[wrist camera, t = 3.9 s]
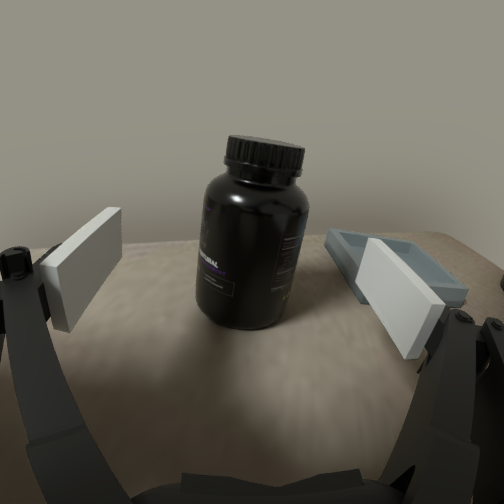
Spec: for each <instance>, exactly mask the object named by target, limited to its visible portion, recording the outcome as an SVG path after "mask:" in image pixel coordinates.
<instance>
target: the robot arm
mask: <svg viewBox="0 0 504 504" xmlns="http://www.w3.org/2000/svg"><path fill="white" fill-rule="evenodd" d="M121 258H122V238H121V208H115V207H107V208H106V209H105V210H103V211H102V212H101V213H99V214H98V215H97V216H96V217H94V218H93V219H92V220H91V221H89V222H88V223H87V224H86V225H84V226H83V227H82V228H81V229H80V230H78V231H77V232H76V233H75V234H73V235H72V236H71V237H70V238H69V239H67V240H66V241H65V242H64V243H60V244H58V245H56V246H54V247H52V248H51V249H50V250H48V251H47V252H46V254H44V255H43V256H42V257H41V258H39V259H38V260H37V261H36V262H35V263H34V264H33V265H32V261H31V255H30V250H29V249H28V248H26V247H20V246H19V247H12V248H9V249H7V250H4V251H3V252H1V253H0V272H1V276H2V281H0V361H1V355H2V349H3V343H4V338H5V334H6V339H7V347H8V354H9V360H10V366H11V371H12V377H13V381H14V386H15V391H16V395H17V399H18V403H19V407H20V411H21V415H22V418H23V422H24V425H25V429H26V432H27V435H28V438H29V444H26V451H27V454H28V458H29V461H30V463H31V466H32V469H33V471H34V474H35V476H36V479H37V481H38V484H39V486H40V488H41V491H42V493H43V495H44V497H45V500H46V502H47V504H470V502H471V498H472V494H473V504H504V324H503V323H502V322H501V321H500V320H498V319H495V318H491V317H488V318H486V320H485V322H484V324H483V326H478V325H475V322H474V320H473V318H472V317H471V316H470V315H468V314H467V313H466V312H464V311H461V310H458V309H452V310H450V309H449V308H448V306H447V305H446V304H445V303H444V302H443V301H442V300H441V299H440V298H439V297H438V296H437V295H436V294H435V293H434V292H433V290H432V289H431V288H430V287H429V286H428V285H427V284H426V283H425V282H424V281H423V280H422V279H421V278H420V277H419V276H418V275H417V274H416V273H415V272H414V271H413V270H412V269H411V268H410V267H409V266H408V265H407V264H406V263H405V262H404V261H403V260H402V259H401V258H400V257H399V256H397V255H396V254H395V253H394V252H393V251H392V250H391V249H390V248H389V247H388V246H387V245H386V244H385V243H384V242H383V241H382V240H380V239H376V238H369V237H368V241H367V244H366V248H365V251H364V255H363V258H362V261H361V264H360V268H359V271H358V274H357V277H356V280H355V282H356V284H357V285H358V287H359V288H360V290H361V291H362V293H363V294H364V296H365V297H366V299H367V300H368V302H369V303H370V305H371V306H372V308H373V310H374V311H375V313H376V314H377V316H378V317H379V319H380V320H381V322H382V324H383V325H384V327H385V328H386V330H387V332H388V333H389V335H390V336H391V338H392V340H393V341H394V343H395V345H396V346H397V348H398V350H399V351H400V353H401V355H402V356H403V358H404V360H405V359H418V358H419V356H420V354H421V352H422V351H423V349H424V347H425V348H426V350H427V351H428V354H427V356H426V358H425V360H424V361H423V363H422V365H421V366H420V368H419V370H418V371H417V373H418V374H419V373H420V371H421V373H420V377H419V380H418V384H417V387H416V390H415V393H414V396H413V399H412V402H411V405H410V408H409V411H408V414H407V416H406V419H405V422H404V424H403V427H402V430H401V432H400V435H399V437H398V440H397V442H396V444H395V447H394V449H393V451H392V454H391V456H390V458H389V460H388V463H387V465H386V467H385V469H384V471H383V473H382V475H381V477H380V479H379V480H378V482H377V481H373V480H367V479H362V477H361V474H360V470H359V469H354V470H348V471H341V472H334V473H326V474H319V475H316V476H314V477H311V478H307V479H304V480H301V481H298V482H295V483H291V484H288V485H284V486H280V487H273V486H267V485H262V484H257V483H253V482H248V481H244V480H239V479H235V478H231V477H222V476H208V475H197V474H187V473H182V482H181V483H174V484H168V485H163V486H159V487H156V488H152V489H150V490H147V491H145V492H142V493H140V494H139V495H137V496H135V497H133V498H132V499H130V498H129V496H128V495H127V494H126V492H125V491H124V489H123V488H122V486H121V485H120V483H119V482H118V480H117V478H116V477H115V475H114V474H113V472H112V471H111V469H110V467H109V466H108V464H107V462H106V461H105V459H104V457H103V455H102V454H101V452H100V450H99V448H98V447H97V445H96V443H95V441H94V439H93V437H92V435H91V433H90V432H89V430H88V428H87V426H86V424H85V422H84V420H83V418H82V416H81V414H80V412H79V410H78V407H77V405H76V403H75V401H74V398H73V396H72V394H71V392H70V389H69V387H68V384H67V382H66V379H65V377H64V374H63V372H62V369H61V366H60V364H59V361H58V358H57V355H56V352H55V350H54V347H53V344H52V340H51V337H50V334H49V331H48V328H47V324H46V322H47V321H48V319H49V318H50V317H51V321H52V324H53V328H54V329H55V330H59V331H63V332H68V333H70V332H71V331H72V329H73V328H74V326H75V324H76V323H77V321H78V320H79V318H80V317H81V315H82V314H83V312H84V311H85V309H86V308H87V306H88V305H89V303H90V302H91V300H92V299H93V297H94V296H95V294H96V293H97V291H98V290H99V288H100V287H101V286H102V284H103V283H104V281H105V280H106V278H107V277H108V276H109V274H110V273H111V271H112V270H113V269H114V267H115V266H116V265H117V263H118V262H119V260H120V259H121ZM501 286H502V288H503V289H504V275H503V278H502V280H501ZM489 362H490V363H489ZM488 364H489V365H488ZM487 366H488V367H487ZM486 367H487V369H486ZM470 440H471V442H470Z"/></svg>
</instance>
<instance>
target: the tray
mask: <svg viewBox="0 0 504 504" xmlns="http://www.w3.org/2000/svg"><path fill="white" fill-rule="evenodd" d="M368 237H369V238H376V239H380V240H382V241H383V242H384V243H385V244H386V245H387V246H388V247H389V248H390V249H391V250H392V251H393V252H394V253H395V254H396V255H397V256H399V257H400V258H401V259H402V260H403V261H404V262H405V263H406V264H407V265H408V266H409V267H410V268H411V269H412V270H413V271H414V272H415V273H416V274H417V275H418V276H419V277H420V278H421V279H422V280H423V281H424V282H425V283H426V284H427V285H428V286H429V287H430V288H431V289H432V290H433V292H434V293H435V294H436V295H437V296H438V297H439V298H440V299H441V300H442V301H443V302H444V303H445V304H446V305H447V306H448V308H461V306H462V303H463V301H464V299H465V297H466V295H467V292H468V290H469V289H468V288H467V287H466V286H465V285H464V284H463V283H462V282H460V281H459V280H458V279H457V278H456V277H455V276H454V275H453V274H452V273H450V272H449V271H448V270H447V269H446V268H445V267H444V266H442V265H441V264H440V263H439V262H438V261H437V260H435V259H434V258H433V257H432V256H431V255H429V254H428V253H427V252H426V251H425V250H423V249H422V248H421V247H420V246H419V245H417V244H416V243H415V242H413V241H408V240H402V239H396V238H390V237H384V236H377V235H371V234H365V233H358V232H352V231H345V230H338V229H332V228H328V233H327V236H326V240H325V244H324V246H325V247H326V249H327V250H328V252H329V253H330V255H331V257H332V258H333V260H334V261H335V263H336V264H337V266H338V268H339V269H340V271H341V272H342V274H343V276H344V277H345V279H346V280H347V282H348V284H349V285H350V287H351V288H352V290H353V292H354V293H355V295H356V297H357V298H358V300H359V302H360V303H361V304H370V303H369V302H368V300H367V299H366V297H365V296H364V294H363V293H362V291H361V290H360V288H359V287H358V285H357V284H356V282H355V280H356V277H357V274H358V271H359V268H360V264H361V261H362V258H363V255H364V251H365V248H366V244H367V241H368Z"/></svg>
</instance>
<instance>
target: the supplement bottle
mask: <svg viewBox="0 0 504 504" xmlns="http://www.w3.org/2000/svg"><path fill="white" fill-rule="evenodd" d="M304 153H305V148H303V147H301V146H298V145H294V144H290V143H285V142H281V141H276V140H270V139H264V138H258V137H251V136H240V135H230V136H229V138H228V142H227V149H226V156H224V164H225V165H227V171H226V172H225V173H224V174H221V175H219V176H217V177H216V178H214V179H213V180H212V181H211V182H210V183H209V184H208V186H207V188H206V190H205V195H204V202H203V211H202V220H201V232H200V241H199V252H198V264H197V276H196V301H197V304H198V306H199V308H200V309H201V311H202V312H203V313H204V314H205V315H206V316H207V317H209V318H210V319H211V320H213V321H215V322H217V323H219V324H221V325H224V326H227V327H230V328H235V329H243V330H251V329H259V328H263V327H266V326H269V325H271V324H273V323H274V322H276V321H277V320H278V319H279V318H280V317H281V316H282V314H283V313H284V311H285V308H286V304H287V301H288V297H289V293H290V289H291V286H292V282H293V278H294V274H295V269H296V265H297V261H298V257H299V253H300V249H301V245H302V240H303V236H304V231H305V227H306V222H307V218H308V213H309V202H308V198H307V196H306V195H305V193H304V192H303V191H302V190H301V189H300V188H299V187H298V186H297V185H296V178H297V177H300V176H301V174H302V170H303V169H302V164H303V158H304Z"/></svg>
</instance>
